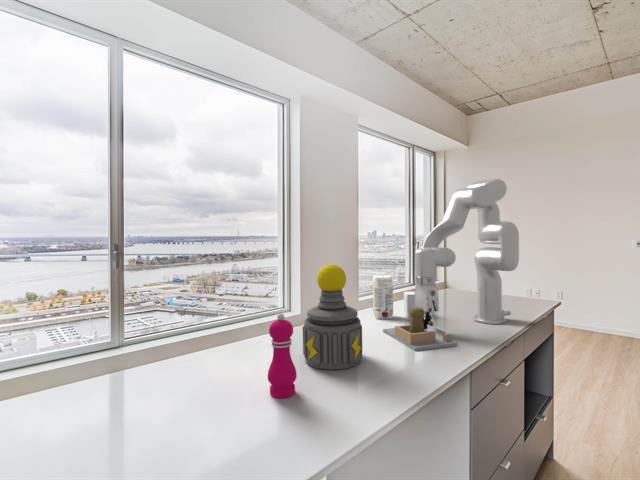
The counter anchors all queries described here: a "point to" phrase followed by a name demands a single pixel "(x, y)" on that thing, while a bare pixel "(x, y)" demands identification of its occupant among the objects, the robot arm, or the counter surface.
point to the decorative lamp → (332, 326)
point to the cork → (416, 320)
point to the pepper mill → (281, 359)
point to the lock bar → (436, 330)
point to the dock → (419, 338)
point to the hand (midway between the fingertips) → (425, 328)
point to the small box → (408, 302)
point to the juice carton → (383, 297)
